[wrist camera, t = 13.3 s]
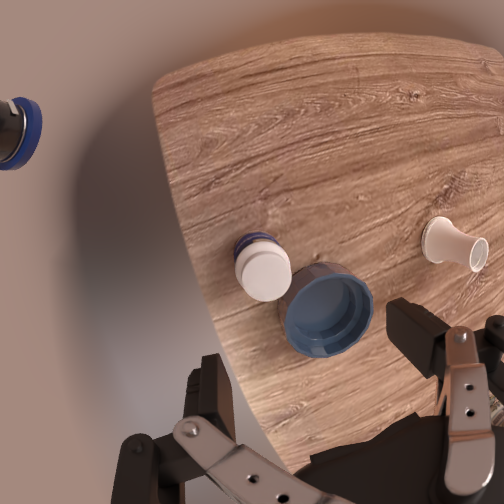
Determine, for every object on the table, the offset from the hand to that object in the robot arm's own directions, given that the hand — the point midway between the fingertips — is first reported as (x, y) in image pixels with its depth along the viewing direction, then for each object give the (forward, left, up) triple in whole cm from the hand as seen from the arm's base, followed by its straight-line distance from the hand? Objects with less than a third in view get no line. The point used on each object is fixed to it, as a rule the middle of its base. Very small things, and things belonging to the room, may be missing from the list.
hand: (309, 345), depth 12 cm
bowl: (+10, -8, -24) cm, 27 cm away
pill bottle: (0, -2, -24) cm, 24 cm away
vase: (+29, +4, -24) cm, 38 cm away
